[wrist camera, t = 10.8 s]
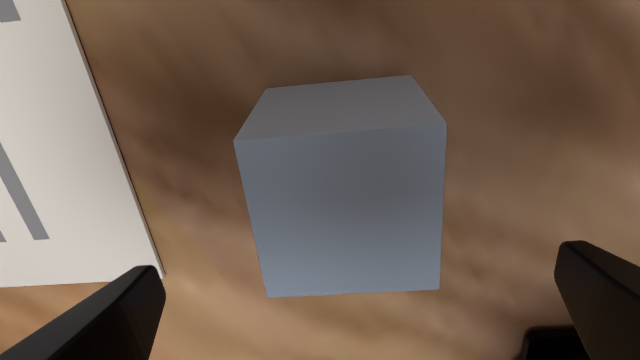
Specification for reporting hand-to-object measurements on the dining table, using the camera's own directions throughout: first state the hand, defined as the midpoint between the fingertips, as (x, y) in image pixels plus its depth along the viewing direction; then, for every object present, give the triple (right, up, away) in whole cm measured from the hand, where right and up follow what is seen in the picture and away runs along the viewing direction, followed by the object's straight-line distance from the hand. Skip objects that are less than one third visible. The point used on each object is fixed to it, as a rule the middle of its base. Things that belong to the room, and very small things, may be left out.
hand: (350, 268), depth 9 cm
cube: (0, +3, +6) cm, 7 cm away
